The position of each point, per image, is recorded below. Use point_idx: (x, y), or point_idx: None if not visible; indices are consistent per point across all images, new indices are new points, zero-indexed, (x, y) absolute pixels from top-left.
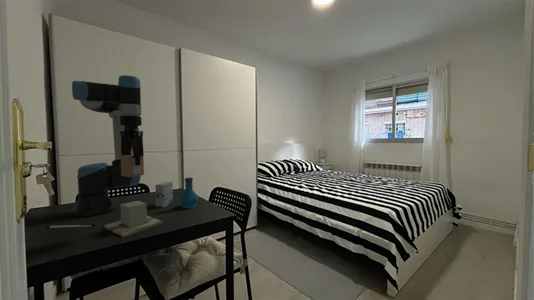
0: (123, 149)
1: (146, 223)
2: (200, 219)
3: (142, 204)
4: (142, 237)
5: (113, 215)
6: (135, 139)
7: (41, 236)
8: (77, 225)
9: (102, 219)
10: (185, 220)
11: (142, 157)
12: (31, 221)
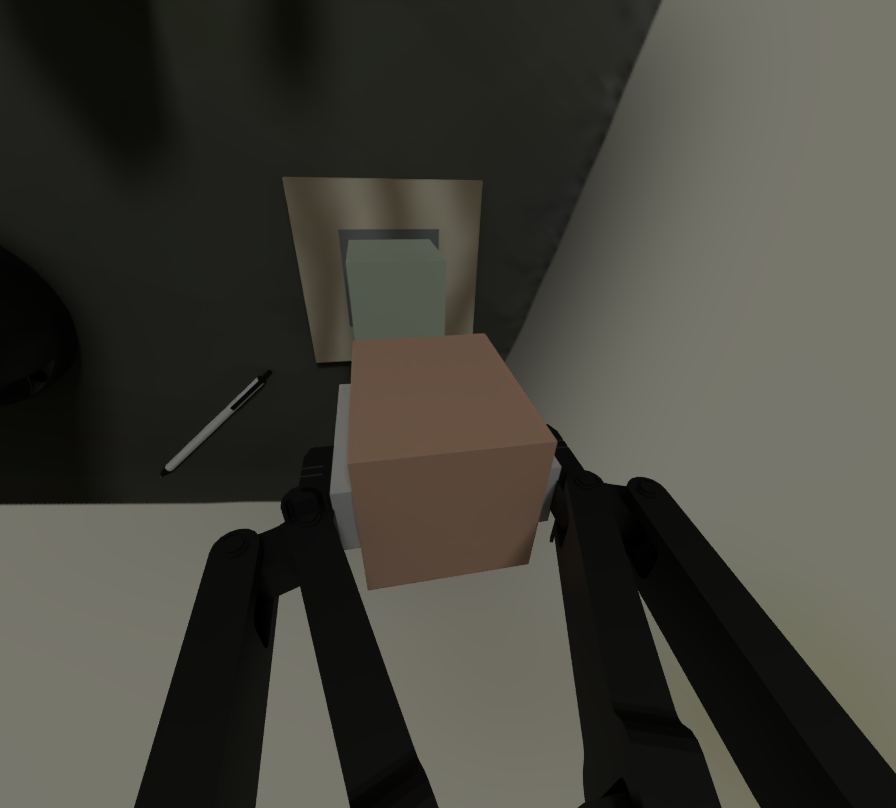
0: (266, 644)
1: (439, 248)
2: None
3: (445, 284)
4: (526, 311)
5: (140, 274)
6: (755, 760)
7: (260, 485)
8: (227, 415)
9: (185, 330)
10: (538, 64)
11: (544, 435)
12: (19, 500)
